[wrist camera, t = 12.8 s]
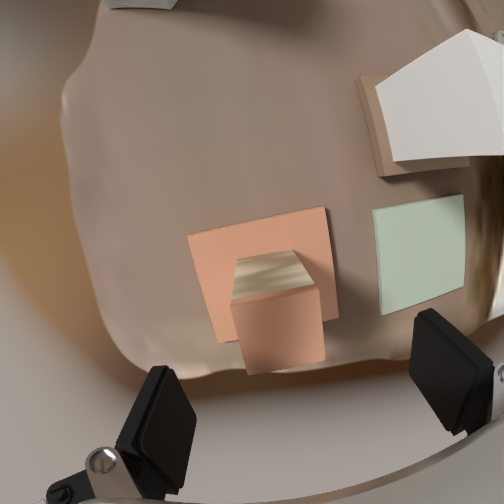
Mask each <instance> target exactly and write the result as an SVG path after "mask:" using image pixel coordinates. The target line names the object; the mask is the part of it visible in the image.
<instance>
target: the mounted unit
mask: <svg viewBox="0 0 504 504" xmlns="http://www.w3.org/2000/svg"><path fill="white" fill-rule="evenodd" d="M355 83H356V86H357V89H358V93H359V96H360V100H361V103H362V107H363V110H364V114H365V118H366V122H367V126H368V130H369V134H370V139H371V143H372V148H373V153H374V158H375V163H376V168H377V174H378V176H390V175H398V174H405V173H413V172H422V171H430V170H439V169H449V168H460V167H470V160H469V156H479V155H504V45H502V44H500V43H498V42H496V41H494V40H492V39H490V38H487V37H485V36H483V35H481V34H478V33H476V32H473V31H471V30H468V29H465V30H464V31H462V32H460V33H458V34H457V35H455V36H453V37H451V38H450V39H448V40H446V41H445V42H443V43H441V44H440V45H438V46H436V47H435V48H433V49H432V50H430V51H428V52H427V53H425V54H423V55H422V56H420V57H419V58H417V59H416V60H414V61H412V62H411V63H409V64H408V65H406V66H405V67H403V68H402V69H400V70H399V71H397V72H396V73H394V74H393V75H391V76H382V75H360V76H359V77H358V78H356V79H355Z"/></svg>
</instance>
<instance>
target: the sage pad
mask: <svg viewBox="0 0 504 504" xmlns="http://www.w3.org/2000/svg"><path fill="white" fill-rule="evenodd" d="M372 214H373V222H374V231H375V240H376V251H377V264H378V280H379V307H380V313H381V315H385V314H388V313H392V312H395V311H398V310H401V309H404V308H407V307H409V306H412V305H415V304H418V303H421V302H423V301H426V300H429V299H432V298H434V297H437V296H439V295H442V294H445V293H447V292H450V291H452V290H455V289H457V288H459V287H462V286H463V285H464V270H465V215H464V200H463V194H456V195H450V196H445V197H439V198H433V199H428V200H422V201H417V202H411V203H406V204H401V205H395V206H390V207H385V208H379V209H374V210H372Z"/></svg>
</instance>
